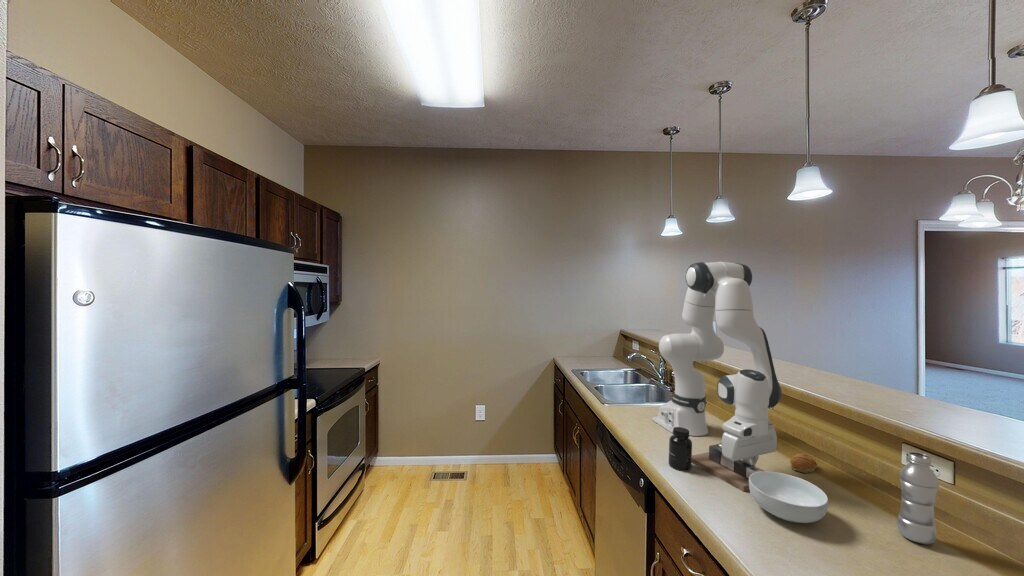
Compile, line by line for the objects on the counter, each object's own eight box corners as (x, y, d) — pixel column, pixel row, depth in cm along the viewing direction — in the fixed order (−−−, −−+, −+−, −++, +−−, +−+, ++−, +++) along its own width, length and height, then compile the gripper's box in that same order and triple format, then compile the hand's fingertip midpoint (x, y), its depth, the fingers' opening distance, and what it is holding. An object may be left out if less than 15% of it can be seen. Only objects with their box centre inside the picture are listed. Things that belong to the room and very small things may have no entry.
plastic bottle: (888, 531, 94) (891, 449, 94) (913, 530, 95) (916, 449, 94) (918, 549, 88) (921, 461, 87) (945, 548, 88) (949, 461, 88)
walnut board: (687, 460, 129) (687, 456, 129) (720, 454, 135) (720, 449, 135) (743, 491, 111) (743, 486, 111) (778, 482, 116) (778, 477, 116)
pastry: (812, 477, 120) (812, 465, 120) (786, 469, 125) (786, 457, 125) (817, 468, 127) (818, 456, 126) (792, 460, 131) (793, 449, 131)
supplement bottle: (665, 466, 125) (666, 429, 125) (672, 459, 130) (673, 423, 130) (687, 473, 120) (688, 435, 120) (694, 466, 125) (695, 429, 125)
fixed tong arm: (720, 464, 123) (720, 454, 123) (722, 464, 124) (723, 454, 124) (754, 482, 113) (755, 471, 113) (757, 481, 113) (757, 470, 113)
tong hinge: (708, 459, 127) (709, 443, 127) (724, 456, 130) (725, 440, 130) (719, 464, 124) (719, 448, 123) (735, 461, 126) (735, 445, 126)
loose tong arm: (723, 463, 124) (723, 453, 124) (726, 463, 124) (726, 453, 124) (758, 481, 113) (758, 470, 113) (760, 480, 114) (761, 469, 114)
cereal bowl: (735, 494, 109) (736, 469, 109) (795, 496, 109) (796, 471, 109) (774, 533, 92) (775, 504, 92) (845, 536, 92) (846, 506, 92)
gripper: (763, 417, 125) (762, 459, 125) (718, 425, 117) (716, 470, 118) (783, 423, 119) (782, 468, 120) (737, 432, 112) (735, 480, 112)
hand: (749, 469), depth 119 cm, fingers closed
